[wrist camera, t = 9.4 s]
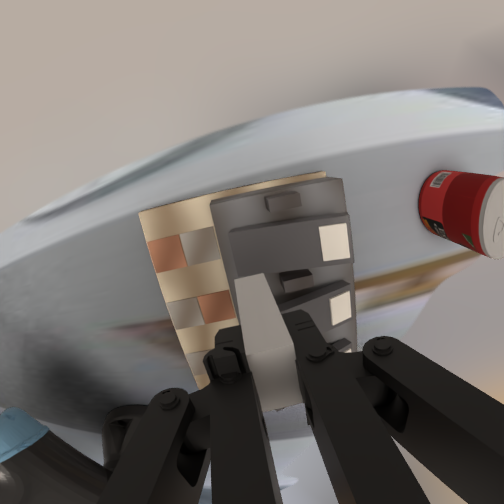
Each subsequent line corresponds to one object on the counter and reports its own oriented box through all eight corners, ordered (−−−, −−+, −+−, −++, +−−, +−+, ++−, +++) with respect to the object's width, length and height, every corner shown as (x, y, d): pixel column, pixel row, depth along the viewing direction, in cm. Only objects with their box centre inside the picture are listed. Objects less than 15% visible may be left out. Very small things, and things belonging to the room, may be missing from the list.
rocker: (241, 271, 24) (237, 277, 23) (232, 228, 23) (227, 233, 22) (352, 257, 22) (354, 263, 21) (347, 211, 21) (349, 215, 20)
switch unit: (200, 386, 34) (198, 428, 27) (141, 211, 27) (117, 225, 21) (341, 353, 34) (363, 389, 28) (321, 171, 28) (350, 173, 21)
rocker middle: (256, 351, 24) (262, 360, 23) (247, 315, 23) (254, 323, 22) (345, 314, 26) (354, 320, 25) (342, 280, 25) (351, 284, 24)
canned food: (410, 229, 31) (475, 257, 20) (422, 162, 29) (491, 168, 18) (452, 237, 32) (513, 263, 21) (463, 177, 30) (527, 188, 19)
